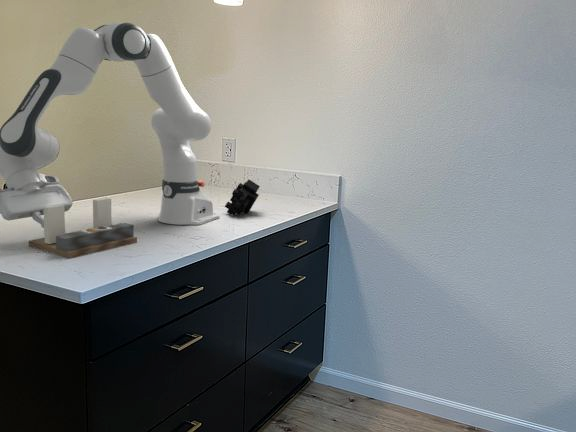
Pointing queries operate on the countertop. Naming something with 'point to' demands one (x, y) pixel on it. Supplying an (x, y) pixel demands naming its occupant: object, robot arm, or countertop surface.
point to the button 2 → (101, 212)
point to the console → (88, 240)
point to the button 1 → (53, 222)
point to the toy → (243, 198)
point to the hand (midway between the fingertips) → (48, 226)
